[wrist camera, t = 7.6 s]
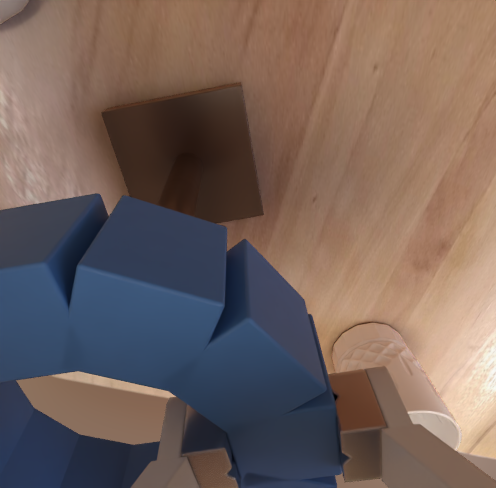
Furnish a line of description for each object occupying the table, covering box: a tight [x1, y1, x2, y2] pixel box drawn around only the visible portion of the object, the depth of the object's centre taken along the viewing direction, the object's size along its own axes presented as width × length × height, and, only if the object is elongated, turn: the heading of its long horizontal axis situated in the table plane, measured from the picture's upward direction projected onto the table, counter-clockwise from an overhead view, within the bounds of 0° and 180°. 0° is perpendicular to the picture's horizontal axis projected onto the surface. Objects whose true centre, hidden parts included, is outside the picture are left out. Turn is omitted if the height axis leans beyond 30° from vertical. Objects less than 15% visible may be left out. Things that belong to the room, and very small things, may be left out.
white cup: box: [332, 323, 462, 451], centre depth 33 cm, size 8×8×10 cm
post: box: [101, 82, 264, 223], centre depth 23 cm, size 9×9×12 cm
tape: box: [0, 194, 342, 488], centre depth 10 cm, size 11×11×3 cm
